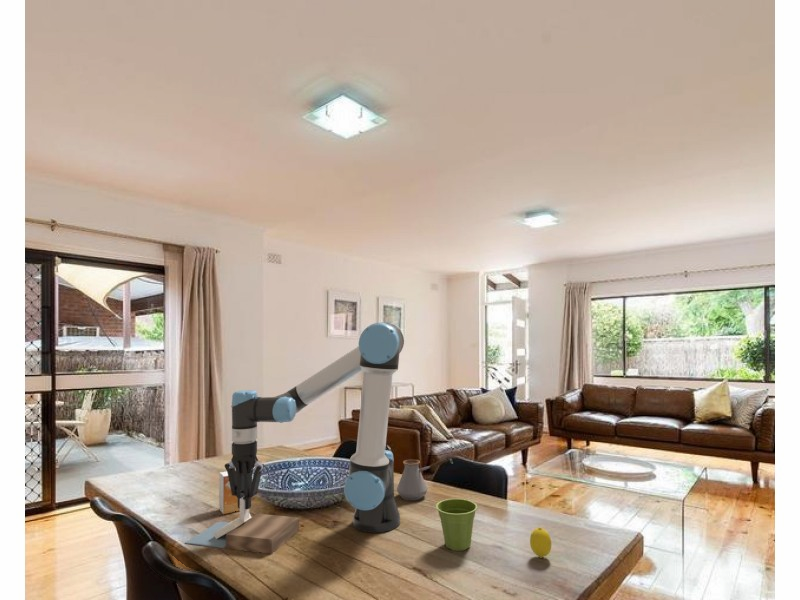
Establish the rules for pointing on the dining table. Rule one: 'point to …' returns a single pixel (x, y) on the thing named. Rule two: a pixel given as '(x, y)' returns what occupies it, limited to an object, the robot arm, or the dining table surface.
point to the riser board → (262, 533)
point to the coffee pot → (414, 480)
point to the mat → (210, 537)
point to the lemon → (540, 542)
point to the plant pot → (457, 522)
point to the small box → (226, 495)
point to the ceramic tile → (229, 527)
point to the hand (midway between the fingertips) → (244, 519)
